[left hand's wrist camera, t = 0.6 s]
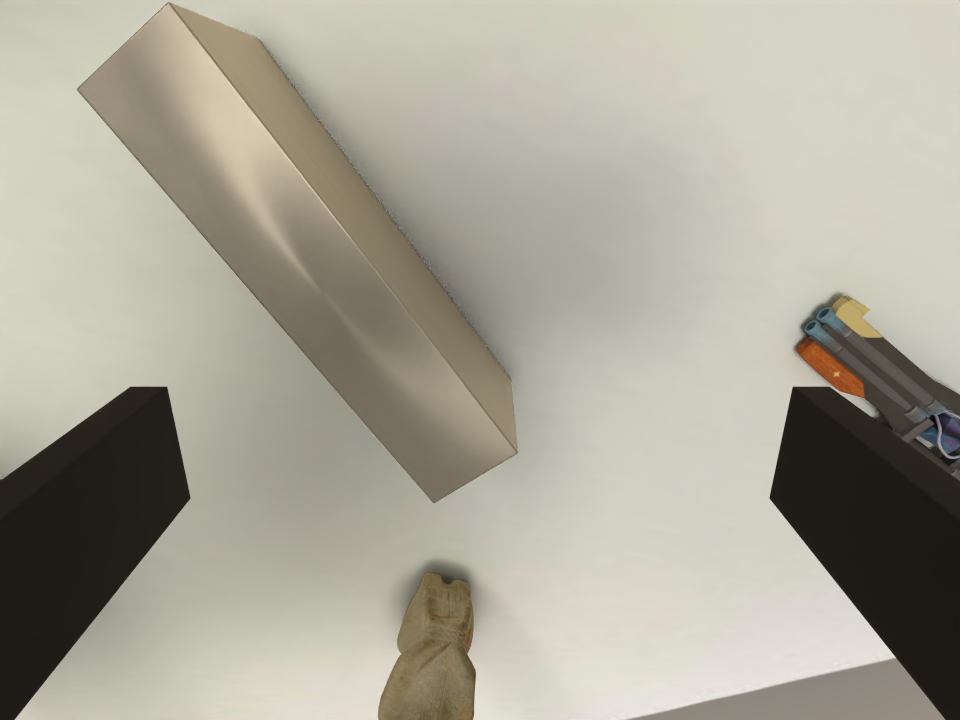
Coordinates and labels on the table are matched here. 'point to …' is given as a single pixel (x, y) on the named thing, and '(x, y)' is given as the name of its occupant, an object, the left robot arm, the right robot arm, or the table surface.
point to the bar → (308, 241)
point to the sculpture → (433, 656)
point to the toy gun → (884, 380)
